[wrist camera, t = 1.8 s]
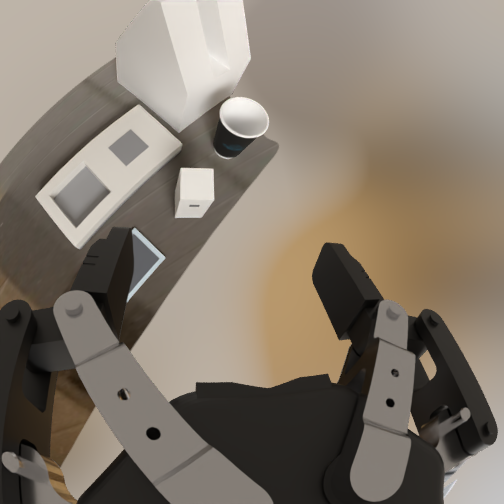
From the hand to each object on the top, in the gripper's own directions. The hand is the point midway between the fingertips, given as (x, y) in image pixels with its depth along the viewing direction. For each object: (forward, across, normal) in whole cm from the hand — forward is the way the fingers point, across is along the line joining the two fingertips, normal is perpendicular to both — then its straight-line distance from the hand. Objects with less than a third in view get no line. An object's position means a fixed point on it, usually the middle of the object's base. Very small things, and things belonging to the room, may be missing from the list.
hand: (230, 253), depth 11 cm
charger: (+32, -2, -14) cm, 35 cm away
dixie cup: (+41, +4, -6) cm, 42 cm away
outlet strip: (+34, -16, -10) cm, 39 cm away
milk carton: (+50, -8, +5) cm, 51 cm away
